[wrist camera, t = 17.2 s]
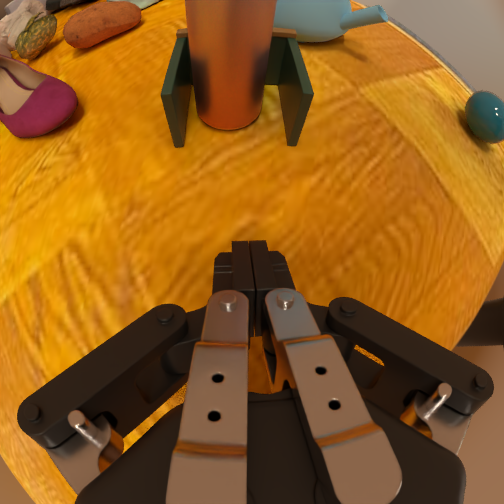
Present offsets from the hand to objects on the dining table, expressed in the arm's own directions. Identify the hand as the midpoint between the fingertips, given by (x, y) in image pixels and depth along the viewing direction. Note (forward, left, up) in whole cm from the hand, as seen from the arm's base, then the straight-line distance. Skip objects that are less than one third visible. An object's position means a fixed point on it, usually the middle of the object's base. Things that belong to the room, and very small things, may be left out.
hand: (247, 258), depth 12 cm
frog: (+63, -22, -4) cm, 67 cm away
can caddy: (+9, -13, -7) cm, 17 cm away
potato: (+39, -18, -7) cm, 44 cm away
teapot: (+12, -34, -7) cm, 37 cm away
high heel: (+36, -2, -7) cm, 37 cm away
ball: (-17, -36, -7) cm, 41 cm away
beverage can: (+10, -13, -7) cm, 18 cm away
